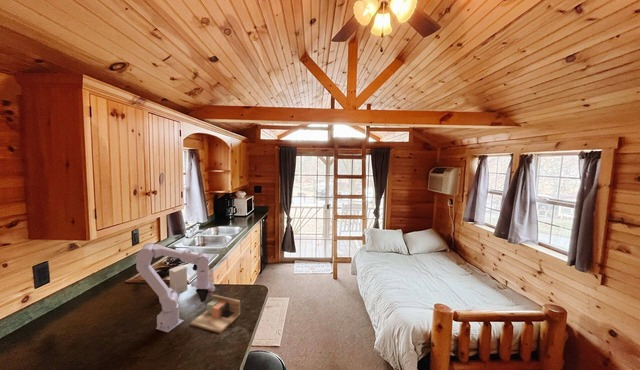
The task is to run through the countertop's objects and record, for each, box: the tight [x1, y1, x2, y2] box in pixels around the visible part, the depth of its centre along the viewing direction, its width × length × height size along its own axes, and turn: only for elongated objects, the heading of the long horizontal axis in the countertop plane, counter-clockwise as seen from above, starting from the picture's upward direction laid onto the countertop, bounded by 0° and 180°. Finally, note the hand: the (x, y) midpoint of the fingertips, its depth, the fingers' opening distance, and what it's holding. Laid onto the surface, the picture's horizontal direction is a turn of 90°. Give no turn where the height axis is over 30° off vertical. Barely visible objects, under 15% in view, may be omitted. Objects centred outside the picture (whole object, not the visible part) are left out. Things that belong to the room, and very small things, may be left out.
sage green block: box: [206, 299, 220, 314], centre depth 137 cm, size 5×4×5 cm
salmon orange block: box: [212, 301, 227, 318], centre depth 134 cm, size 7×4×5 cm, turn 162°
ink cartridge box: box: [208, 268, 215, 293], centre depth 159 cm, size 9×5×15 cm, turn 143°
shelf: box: [190, 294, 241, 334], centre depth 131 cm, size 16×18×8 cm
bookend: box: [221, 303, 234, 318], centre depth 134 cm, size 5×4×5 cm
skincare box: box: [168, 264, 189, 295], centre depth 158 cm, size 8×7×16 cm
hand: (203, 301), depth 132 cm, fingers closed
